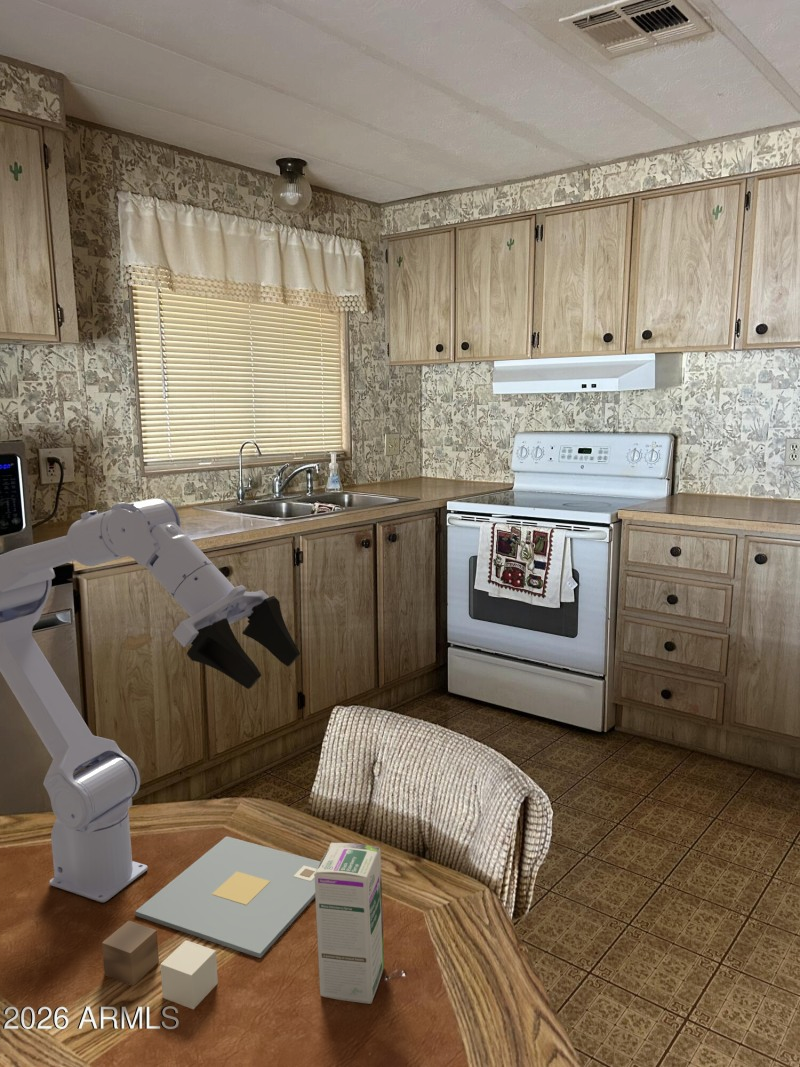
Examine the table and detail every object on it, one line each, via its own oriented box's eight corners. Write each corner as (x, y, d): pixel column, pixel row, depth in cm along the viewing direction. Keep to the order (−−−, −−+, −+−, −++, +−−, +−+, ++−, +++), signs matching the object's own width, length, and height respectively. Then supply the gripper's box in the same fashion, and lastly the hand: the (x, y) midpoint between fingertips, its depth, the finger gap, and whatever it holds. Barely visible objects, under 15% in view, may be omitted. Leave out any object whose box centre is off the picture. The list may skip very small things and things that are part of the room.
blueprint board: (135, 915, 96) (134, 910, 96) (226, 840, 112) (226, 835, 112) (260, 958, 88) (260, 952, 88) (338, 870, 105) (338, 865, 104)
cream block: (162, 998, 83) (160, 963, 82) (187, 973, 86) (185, 940, 86) (193, 1010, 81) (191, 975, 81) (217, 984, 85) (216, 950, 84)
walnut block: (104, 975, 86) (101, 942, 85) (131, 952, 90) (128, 920, 89) (133, 986, 85) (130, 953, 84) (159, 962, 88) (156, 930, 87)
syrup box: (372, 1005, 81) (370, 877, 79) (317, 997, 83) (313, 870, 80) (384, 967, 87) (383, 845, 84) (332, 959, 88) (329, 839, 86)
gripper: (167, 571, 81) (255, 668, 78) (251, 545, 94) (328, 628, 91) (135, 616, 84) (219, 712, 81) (221, 586, 96) (295, 667, 94)
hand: (275, 670), depth 86 cm, fingers open, 7 cm apart
